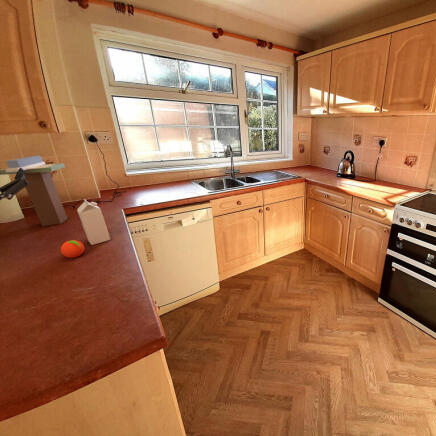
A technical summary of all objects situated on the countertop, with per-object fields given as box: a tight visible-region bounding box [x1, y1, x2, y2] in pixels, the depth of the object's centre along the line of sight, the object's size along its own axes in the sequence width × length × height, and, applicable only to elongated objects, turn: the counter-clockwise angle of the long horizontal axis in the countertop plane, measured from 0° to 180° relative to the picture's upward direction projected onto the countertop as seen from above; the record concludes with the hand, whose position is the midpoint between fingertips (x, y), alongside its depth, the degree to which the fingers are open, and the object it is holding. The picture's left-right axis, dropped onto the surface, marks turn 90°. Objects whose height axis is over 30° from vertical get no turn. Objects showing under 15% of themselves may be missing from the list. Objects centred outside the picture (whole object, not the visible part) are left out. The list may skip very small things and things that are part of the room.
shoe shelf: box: [0, 162, 68, 227], centre depth 126 cm, size 15×20×30 cm
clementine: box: [60, 239, 85, 259], centre depth 96 cm, size 8×7×7 cm
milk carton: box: [76, 198, 111, 246], centre depth 107 cm, size 7×7×19 cm
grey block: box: [4, 155, 46, 172], centre depth 117 cm, size 22×4×4 cm, turn 20°
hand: (2, 171), depth 102 cm, fingers open, 13 cm apart
